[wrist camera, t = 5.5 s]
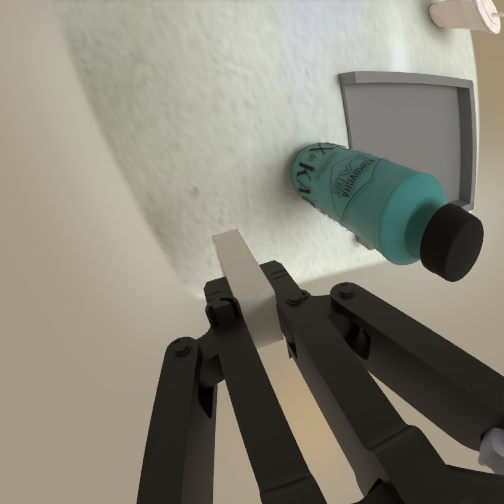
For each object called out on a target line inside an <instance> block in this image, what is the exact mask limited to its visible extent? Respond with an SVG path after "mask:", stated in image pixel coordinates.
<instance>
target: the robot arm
mask: <svg viewBox="0 0 504 504" xmlns="http://www.w3.org/2000/svg"><path fill="white" fill-rule="evenodd" d="M212 238H213V242H214V245H215V249H216V252H217V256H218V259H219V262H220V266H221V269H222V273H223V276H224V277H222V278H219V279H215V280H212V281H209V282H206V285H205V287H204V293H205V297H206V301H207V306H206V309H205V312H206V315H207V317H208V320H209V322H210V325H211V327H210V329H209V330H208V332H207V333H206V334H205V335H203V336H202V337H200V338H198V339H197V340H195V339H193V338H191V337H182V338H178V339H176V340H175V341H173V342H171V343H170V345H168V347H167V349H166V352H165V356H164V361H163V365H162V369H161V374H160V378H159V383H158V387H157V392H156V397H155V401H154V406H153V411H152V416H151V421H150V426H149V431H148V436H147V442H146V447H145V453H144V459H143V465H142V470H141V477H140V483H139V490H138V497H137V504H213V476H214V475H213V474H214V449H215V447H214V446H215V426H216V406H217V388H218V386H217V384H218V383H219V382H221V381H223V380H224V379H225V381H226V385H227V388H228V391H229V395H230V399H231V402H232V405H233V409H234V412H235V416H236V419H237V422H238V426H239V429H240V432H241V435H242V438H243V442H244V445H245V448H246V451H247V454H248V457H249V460H250V463H251V466H252V469H253V472H254V475H255V478H256V481H257V483H258V487H259V490H260V498H261V502H262V504H327V502H326V500H325V498H324V496H323V494H322V492H321V490H320V488H319V486H318V484H317V482H316V480H315V479H314V477H313V476H312V474H311V473H310V471H309V469H308V466H307V464H306V462H305V460H304V458H303V456H302V453H301V451H300V449H299V447H298V445H297V443H296V440H295V438H294V436H293V434H292V432H291V429H290V427H289V425H288V422H287V420H286V418H285V415H284V413H283V411H282V409H281V406H280V404H279V402H278V399H277V397H276V395H275V392H274V390H273V388H272V385H271V383H270V381H269V378H268V376H267V373H266V371H265V369H264V366H263V364H262V362H261V359H260V357H259V354H258V352H257V348H260V347H263V346H266V345H269V344H271V343H274V342H277V341H280V340H283V334H284V336H285V338H286V342H287V347H288V352H289V358H292V357H293V359H294V361H295V362H296V364H297V366H298V368H299V370H300V372H301V374H302V376H303V378H304V379H305V381H306V383H307V385H308V387H309V389H310V391H311V393H312V395H313V396H314V398H315V400H316V402H317V404H318V406H319V408H320V410H321V412H322V413H323V415H324V417H325V419H326V421H327V423H328V425H329V426H330V428H331V430H332V432H333V434H334V436H335V438H336V439H337V441H338V443H339V445H340V447H341V449H342V451H343V452H344V454H345V456H346V458H347V460H348V461H349V463H350V465H351V467H352V469H353V471H354V473H355V476H356V480H357V483H358V486H359V488H360V490H361V492H362V494H363V496H364V498H363V499H362V500H360V501H359V502H356V503H353V504H504V377H503V376H502V375H500V374H499V373H497V372H496V371H494V370H493V369H491V368H490V367H488V366H487V365H485V364H484V363H482V362H481V361H479V360H478V359H476V358H475V357H473V356H471V355H470V354H468V353H467V352H465V351H464V350H462V349H461V348H459V347H457V346H456V345H454V344H453V343H451V342H450V341H448V340H446V339H445V338H443V337H441V336H440V335H439V334H437V333H435V332H434V331H432V330H431V329H429V328H427V327H426V326H424V325H423V324H421V323H419V322H418V321H416V320H415V319H413V318H411V317H410V316H408V315H406V314H405V313H403V312H402V311H400V310H398V309H397V308H395V307H393V306H392V305H390V304H388V303H387V302H385V301H383V300H382V299H380V298H379V297H377V296H375V295H374V294H372V293H370V292H369V291H367V290H365V289H364V288H362V287H360V286H358V285H356V284H354V283H349V282H344V283H340V284H337V285H335V286H334V287H333V288H332V290H331V291H330V295H323V296H311V294H310V293H308V292H307V291H305V290H302V289H300V288H299V287H298V285H297V284H296V283H295V281H294V280H293V279H292V277H291V276H290V275H289V273H288V272H287V271H286V269H285V268H284V267H283V265H282V264H281V263H279V262H277V261H275V260H273V261H270V262H267V263H264V264H261V265H258V263H257V261H256V260H255V258H254V256H253V255H252V253H251V251H250V250H249V248H248V246H247V245H246V243H245V241H244V240H243V238H242V236H241V235H240V233H239V231H238V230H237V229H235V230H232V231H229V232H225V233H222V234H219V235H215V236H212ZM282 332H283V333H282ZM367 370H368V371H369V372H370V373H371V374H373V375H374V376H375V377H376V378H377V379H379V380H380V381H381V382H383V383H384V384H385V385H386V386H387V387H389V388H390V389H391V390H392V391H394V392H395V393H396V394H397V395H399V396H400V397H401V398H403V399H404V400H405V401H406V402H408V403H409V404H410V405H411V406H412V407H414V408H415V409H416V410H418V411H419V412H420V413H421V414H423V415H424V416H425V417H426V418H428V419H429V420H430V421H431V422H433V423H434V424H435V425H436V426H438V427H439V428H440V429H442V430H443V431H444V432H446V433H447V434H448V435H449V436H451V437H452V438H453V439H455V440H456V441H458V442H459V443H461V444H462V445H464V446H466V447H468V448H470V449H473V450H476V451H479V453H480V455H479V458H478V462H479V464H480V465H481V466H487V467H489V468H491V469H492V470H493V472H494V473H495V474H493V473H486V472H481V471H474V470H470V469H465V468H460V467H455V466H451V465H446V464H445V463H444V461H443V460H442V459H441V457H440V456H439V454H438V453H437V451H436V450H435V449H434V447H433V446H432V444H431V443H430V442H429V440H428V439H427V437H426V436H425V435H424V433H423V432H422V431H421V430H420V429H419V428H418V427H416V426H413V425H408V424H406V423H405V422H404V421H403V419H402V418H401V417H400V415H399V414H398V412H397V411H396V410H395V408H394V407H393V405H392V404H391V403H390V401H389V400H388V398H387V397H386V396H385V394H384V393H383V392H382V390H381V389H380V388H379V386H378V385H377V383H376V382H375V380H374V379H373V378H372V376H371V375H370V374H369V372H368V371H367Z"/></svg>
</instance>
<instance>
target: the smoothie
mask: <svg viewBox="0 0 504 504" xmlns="http://www.w3.org/2000/svg"><path fill="white" fill-rule="evenodd" d="M429 13H430V16H431V19H432V20H433V22H434V23H435V24H436V25H437V26H438V27H441V28H459V29H471V30H480V31H487V32H488V33H490V34H497V33H499V32H500V19H499V17H501V16H503V17H504V12H502V13H501V12H500V13H498V12H497V10H496V8H495V6H494V4H493V2H492V1H491V0H446V1H443V2H440V3H437V4H434V5H432V6H430V8H429Z"/></svg>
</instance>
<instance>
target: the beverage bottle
mask: <svg viewBox="0 0 504 504" xmlns="http://www.w3.org/2000/svg"><path fill="white" fill-rule="evenodd" d="M317 143H318V142H317ZM343 147H345V146H343ZM343 147H342V145H341V147H340V145H338V144H337V146H335V144H334V143H333V144H330V143H329V142H327V143H318V144H315V143H314V145H311V146H309V147H307V148H305V149H304V150H303V151H302V152H301V153H300V154H299V155H298V157H297V158H296V160H295V162H294V165H293V172H292V177H293V182H294V183H293V184H294V185H295V188H296V189H295V190H297V191H296V192H298V193H299V194H300V195H301V196H302V197H303V200H304V199H305V200H307V201H308V202H310V203H311V204H312V205H313V207H314V206H315V207H316V208H318V209H320V210H321V211H320V212H321V213H322V212H323V213H325V214H327V215H328V217H329V216H330V218H332V219H334V221H337V222H338V223H339V224H341V226H343V227H345V228H346V229H348V230H349V231H351V232H353V233H354V234H355V235H357V236H358V237H359V238H361V239H362V240H364V241H365V242H366V243H368V244H369V245H370V246H372V247H373V248H374V249H376V250H377V251H378V252H380V253H381V254H382V255H383V256H384V257H385V258H386V259H387V260H388V261H390V262H392V263H393V264H396V265H408V264H412V263H414V262H417V261H419V260H421V262H422V264H423V266H424V267H425V268H427V269H428V270H429V271H431V272H432V273H435V274H437V275H439V276H441V277H442V278H444V279H445V280H447V281H450V282H455V281H458V280H460V279H462V278H463V277H464V276H465V275H466V274H467V273H468V272H469V271H470V269H471V268H472V267H473V265H474V263H475V262H476V260H477V258H478V255H479V253H480V250H481V247H482V243H483V236H484V231H483V225H482V223H481V221H480V220H479V219H478V218H477V217H475V216H473V215H472V214H470V213H469V212H467V211H465V210H464V209H463V208H462V207H460V206H458V205H456V204H453V203H449V204H447V200H446V196H445V192H444V189H443V187H442V185H441V184H440V182H439V181H438V180H437V179H436V178H435V177H433V176H432V175H430V174H427V173H424V172H419V171H416V170H413V169H410V168H407V167H404V166H402V165H399V164H396V163H393V162H391V161H388V160H389V159H388V158H387V159H388V160H385V159H383V158H379V157H375V156H376V155H374V156H372V155H373V154H368V152H367V153H366V154H365V153H361V152H359V151H354V150H351V149H347V148H343ZM360 151H361V150H360ZM385 158H386V157H385ZM299 194H298V195H299ZM310 203H309V204H310ZM311 204H310V205H311ZM312 205H311V206H312ZM315 207H314V208H315ZM318 209H317V210H318ZM318 211H319V210H318ZM325 214H324V215H325ZM332 221H333V220H332ZM334 221H333V222H334ZM339 224H338V225H339ZM343 227H342V228H343ZM346 231H347V230H346Z"/></svg>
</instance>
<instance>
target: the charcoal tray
mask: <svg viewBox="0 0 504 504" xmlns="http://www.w3.org/2000/svg"><path fill="white" fill-rule="evenodd" d="M339 78H340V84H341V90H342V96H343V102H344V108H345V115H346V122H347V129H348V137H349V145H350V149H351V150H354V151H359V152H361V153H365V154H366V153H367V152H368V154H373V155H372V156H374V155H376V156H375V157H379V158H383V159H385V160H388V159H389V160H388V161H391V162H393V163H396V164H399V165H402V166H404V167H407V168H410V169H413V170H416V171H419V172H424V173H427V174H430V175H432V176H433V177H435V178H436V179H437V180H438V181H439V182H440V184H441V185H442V187H443V189H444V192H445V196H446V200H447V204H449V203H453V204H456V205H458V206H460V207H462V208H463V209H464V210H465V211H467V212H468V211H470V210H473V207H474V196H475V183H476V159H477V137H476V113H475V100H474V90H473V82H472V81H471V80H465V79H459V78H452V77H445V76H437V75H427V74H416V73H402V72H370V71H360V72H348V73H342V74H339ZM360 150H361V151H360ZM385 157H386V158H385ZM387 158H388V159H387ZM356 240H357V241H358V242H359V243H361V244H362V245H363V246H365V247H366V248H367V249H369V250H372V249H374V248H373V247H372V246H370V245H369V244H368V243H366V242H365V241H364V240H362V239H361V238H359V237H358V236H357V235H356Z"/></svg>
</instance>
